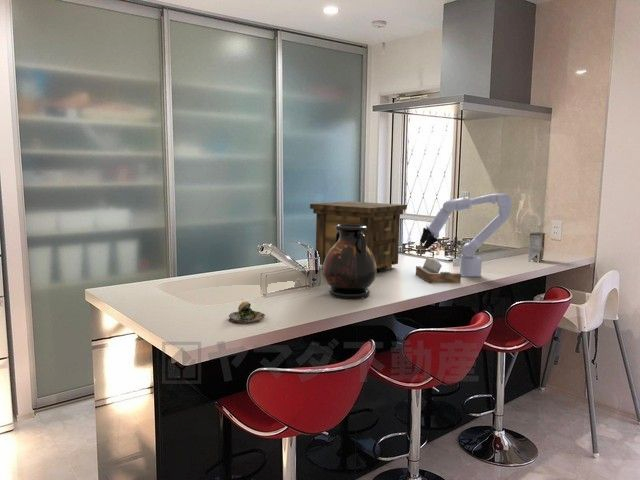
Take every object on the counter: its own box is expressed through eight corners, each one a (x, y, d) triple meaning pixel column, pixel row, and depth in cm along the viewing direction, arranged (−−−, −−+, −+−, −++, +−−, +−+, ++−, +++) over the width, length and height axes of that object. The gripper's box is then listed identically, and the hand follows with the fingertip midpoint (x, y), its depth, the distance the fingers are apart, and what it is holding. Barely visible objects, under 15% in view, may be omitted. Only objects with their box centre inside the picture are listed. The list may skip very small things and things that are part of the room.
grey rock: (436, 278, 252) (446, 261, 254) (421, 268, 253) (431, 251, 255) (432, 280, 260) (442, 264, 262) (417, 271, 261) (427, 255, 263)
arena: (445, 274, 258) (446, 264, 258) (460, 282, 239) (461, 272, 239) (415, 274, 257) (416, 264, 256) (428, 282, 237) (429, 272, 237)
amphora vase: (387, 297, 208) (389, 227, 205) (342, 304, 197) (344, 229, 193) (355, 286, 226) (356, 222, 223) (312, 292, 215) (313, 224, 211)
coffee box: (531, 259, 308) (533, 231, 306) (543, 260, 305) (545, 232, 302) (527, 261, 301) (529, 233, 299) (539, 262, 297) (541, 234, 295)
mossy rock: (234, 327, 167) (234, 304, 166) (224, 317, 177) (224, 295, 176) (269, 323, 172) (270, 300, 171) (258, 314, 182) (258, 292, 181)
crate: (348, 260, 294) (349, 201, 289) (404, 268, 273) (406, 204, 268) (309, 268, 266) (310, 203, 262) (368, 278, 245) (370, 208, 241)
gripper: (428, 214, 264) (413, 236, 268) (436, 223, 250) (420, 246, 254) (439, 220, 266) (424, 242, 269) (448, 230, 252) (432, 253, 256)
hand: (423, 245), depth 262 cm, fingers open, 7 cm apart
